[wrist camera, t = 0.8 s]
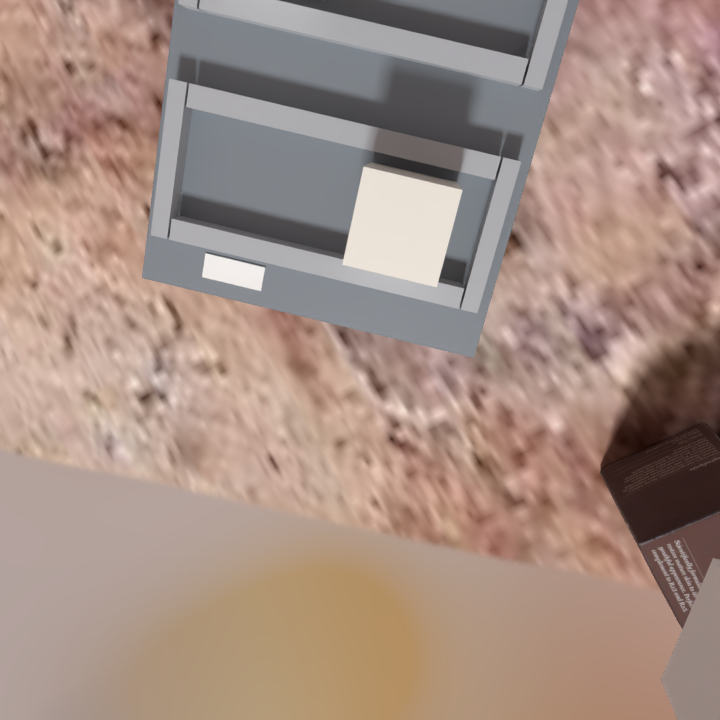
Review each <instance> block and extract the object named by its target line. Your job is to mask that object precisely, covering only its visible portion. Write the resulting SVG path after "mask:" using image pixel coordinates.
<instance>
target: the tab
mask: <svg viewBox="0 0 720 720" xmlns="http://www.w3.org/2000/svg"><path fill="white" fill-rule="evenodd" d="M462 191H463V190H462V188H461V187H460V185H459V184H458V182H455V181H450V180H446V179H442V178H438V177H433V176H429V175H425V174H421V173H417V172H412V171H408V170H404V169H400V168H396V167H391V166H387V165H383V164H379V163H374V162H371V163H369V164H367V165H365V166H364V167H363V171H362V176H361V181H360V185H359V190H358V194H357V199H356V204H355V208H354V213H353V218H352V222H351V227H350V231H349V236H348V241H347V245H346V250H345V255H344V259H343V264H342V265H345V266H350V267H354V268H358V269H362V270H366V271H371V272H375V273H379V274H383V275H387V276H391V277H396V278H400V279H404V280H408V281H412V282H416V283H421V284H425V285H429V286H433V287H437V285H438V281H439V277H440V273H441V270H442V266H443V262H444V258H445V255H446V251H447V247H448V243H449V240H450V236H451V232H452V228H453V225H454V221H455V217H456V213H457V210H458V206H459V202H460V198H461V194H462Z"/></svg>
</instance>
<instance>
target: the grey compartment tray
mask: <svg viewBox="0 0 720 720" xmlns="http://www.w3.org/2000/svg"><path fill="white" fill-rule="evenodd" d="M578 2H579V0H324V1H323V0H175V4H174V13H173V21H172V30H171V38H170V46H169V55H168V63H167V72H166V80H165V89H164V97H163V106H162V114H161V123H160V131H159V140H158V148H157V157H156V165H155V174H154V182H153V191H152V199H151V207H150V216H149V224H148V233H147V241H146V250H145V258H144V267H143V275H142V278H144V279H149V280H153V281H157V282H161V283H165V284H169V285H174V286H178V287H182V288H186V289H190V290H194V291H198V292H203V293H207V294H211V295H215V296H219V297H223V298H228V299H232V300H236V301H240V302H244V303H248V304H252V305H257V306H261V307H265V308H269V309H273V310H277V311H281V312H286V313H290V314H294V315H298V316H302V317H306V318H311V319H315V320H319V321H323V322H327V323H331V324H335V325H340V326H344V327H348V328H352V329H356V330H360V331H365V332H369V333H373V334H377V335H381V336H385V337H389V338H394V339H398V340H402V341H406V342H410V343H414V344H419V345H423V346H427V347H431V348H435V349H439V350H443V351H448V352H452V353H456V354H460V355H464V356H468V357H473V358H474V355H475V351H476V348H477V344H478V341H479V338H480V334H481V331H482V328H483V324H484V321H485V317H486V314H487V311H488V307H489V304H490V300H491V297H492V294H493V290H494V287H495V283H496V280H497V277H498V273H499V270H500V266H501V263H502V260H503V256H504V253H505V249H506V246H507V243H508V239H509V236H510V233H511V229H512V226H513V222H514V219H515V216H516V212H517V209H518V205H519V202H520V199H521V195H522V192H523V188H524V185H525V182H526V178H527V175H528V171H529V168H530V165H531V161H532V158H533V155H534V151H535V148H536V144H537V141H538V138H539V134H540V131H541V127H542V124H543V121H544V117H545V114H546V110H547V107H548V104H549V100H550V97H551V93H552V90H553V87H554V83H555V80H556V77H557V73H558V70H559V66H560V63H561V60H562V56H563V53H564V49H565V46H566V43H567V39H568V36H569V32H570V29H571V26H572V22H573V19H574V15H575V12H576V9H577V5H578ZM371 162H374V163H379V164H383V165H387V166H391V167H396V168H400V169H404V170H408V171H412V172H417V173H421V174H425V175H429V176H433V177H438V178H442V179H446V180H450V181H455V182H458V184H459V185H460V187H461V188H462V190H463V191H462V194H461V198H460V202H459V206H458V210H457V213H456V217H455V221H454V225H453V228H452V232H451V236H450V240H449V243H448V247H447V251H446V255H445V258H444V262H443V266H442V270H441V273H440V277H439V281H438V285H437V287H433V286H429V285H425V284H421V283H416V282H412V281H408V280H404V279H400V278H396V277H391V276H387V275H383V274H379V273H375V272H371V271H366V270H362V269H358V268H354V267H350V266H345V265H342V264H343V259H344V255H345V250H346V245H347V241H348V236H349V231H350V227H351V222H352V218H353V213H354V208H355V204H356V199H357V194H358V190H359V185H360V181H361V176H362V171H363V167H364V166H365V165H367V164H369V163H371Z"/></svg>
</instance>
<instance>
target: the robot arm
mask: <svg viewBox="0 0 720 720" xmlns="http://www.w3.org/2000/svg"><path fill="white" fill-rule="evenodd" d="M661 681H662V684H663V686H664V688H665V691H666V693H667V696H668V698H669V701H670V703H671V706H672V708H673V710H674V713H675V715H676V718H677V720H720V559H715V558H713V559H712V562H711V564H710V566H709V569H708V571H707V573H706V576H705V578H704V580H703V583H702V585H701V587H700V590H699V592H698V594H697V597H696V599H695V601H694V604H693V606H692V608H691V611H690V613H689V615H688V618H687V620H686V622H685V625H684V627H683V629H682V632H681V634H680V636H679V639H678V641H677V643H676V646H675V648H674V650H673V652H672V655H671V657H670V660H669V662H668V664H667V666H666V669H665V671H664V673H663V676H662V678H661Z"/></svg>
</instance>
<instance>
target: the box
mask: <svg viewBox="0 0 720 720" xmlns="http://www.w3.org/2000/svg"><path fill="white" fill-rule="evenodd" d="M600 473H601V475H602V477H603V479H604V481H605V483H606V485H607V487H608V489H609V491H610V493H611V495H612V497H613V499H614V501H615V503H616V505H617V507H618V509H619V511H620V513H621V515H622V517H623V518H624V521H625V522H626V524H627V526H628V528H629V530H630V532H631V533H632V535H633V537H634V539H635V541H636V543H637V545H638V547H639V549H640V551H641V552H642V554H643V556H644V559H645V561H646V562H647V564H648V566H649V568H650V570H651V572H652V574H653V576H654V578H655V580H656V582H657V584H658V585H659V587H660V589H661V591H662V593H663V595H664V597H665V599H666V600H667V602H668V604H669V606H670V607H671V609H672V611H673V613H674V615H675V617H676V619H677V621H678V623H679V624H680V626H681V627H682V629H683V627H684V625H685V622H686V620H687V618H688V615H689V613H690V611H691V608H692V606H693V604H694V601H695V599H696V597H697V594H698V592H699V590H700V587H701V585H702V583H703V580H704V578H705V576H706V573H707V571H708V569H709V566H710V564H711V562H712V559H713V558H715V559H720V438H719V436H718V435H717V434H716V433H715V432H714V431H713V430H712V429H711V428H710V427H709V426H708V425H707V424H705V423H703V424H700V425H698V426H696V427H694V428H691V429H689V430H687V431H685V432H682V433H680V434H678V435H676V436H673V437H671V438H669V439H667V440H665V441H663V442H661V443H658V444H656V445H654V446H652V447H650V448H647V449H645V450H643V451H641V452H639V453H636V454H634V455H632V456H629V457H627V458H625V459H623V460H620V461H618V462H616V463H614V464H612V465H609V466H607V467H605V468H603V469H601V470H600Z"/></svg>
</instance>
